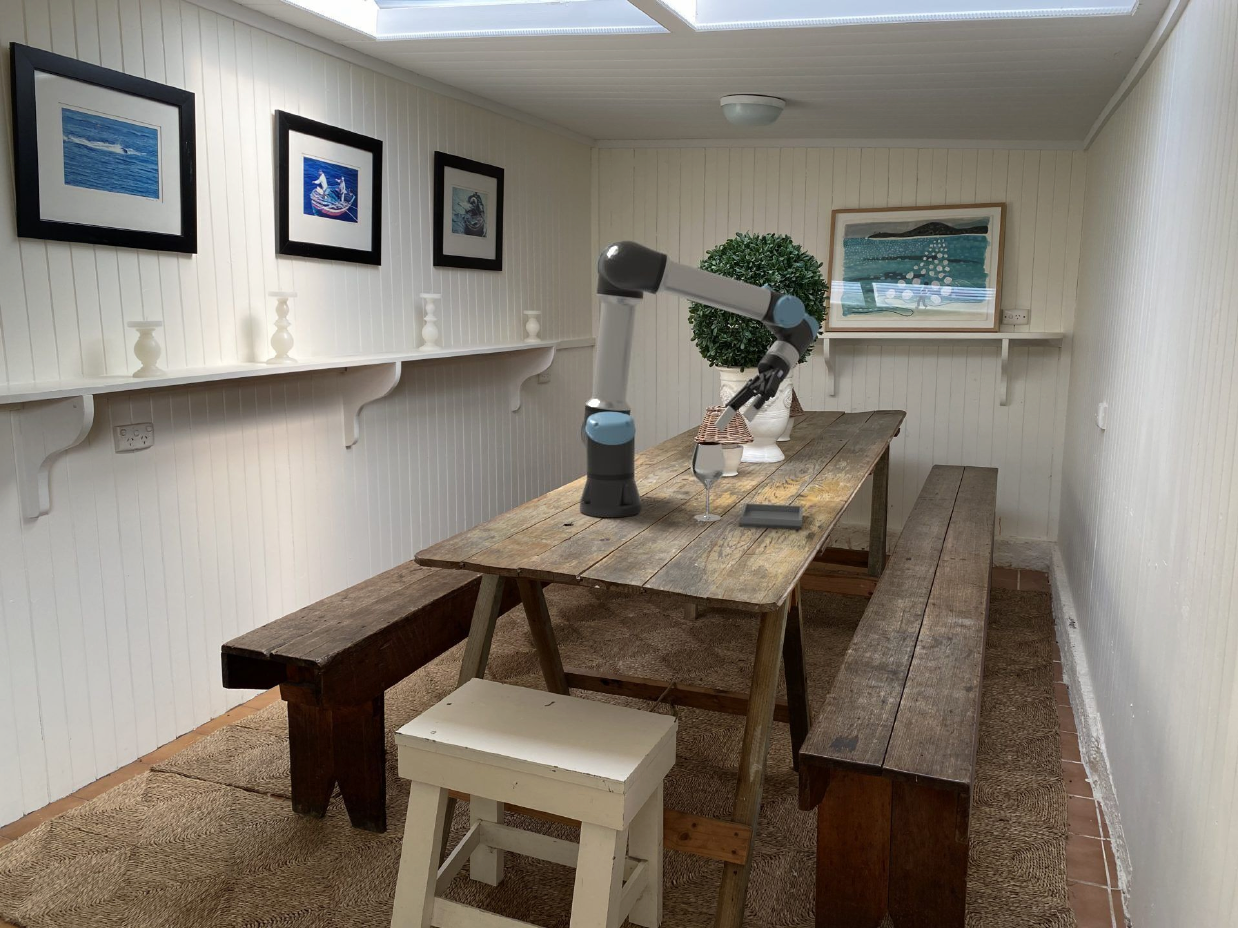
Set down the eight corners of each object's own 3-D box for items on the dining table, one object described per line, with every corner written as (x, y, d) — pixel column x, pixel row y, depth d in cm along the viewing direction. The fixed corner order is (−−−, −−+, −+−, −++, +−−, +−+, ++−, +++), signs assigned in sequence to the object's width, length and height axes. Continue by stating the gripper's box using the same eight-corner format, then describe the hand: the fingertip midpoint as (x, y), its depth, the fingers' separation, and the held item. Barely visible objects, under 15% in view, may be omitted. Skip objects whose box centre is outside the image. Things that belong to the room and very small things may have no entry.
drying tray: (739, 526, 218) (739, 517, 217) (743, 512, 231) (744, 503, 231) (801, 529, 215) (801, 520, 215) (802, 514, 229) (802, 505, 228)
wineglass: (722, 523, 220) (724, 447, 217) (687, 521, 222) (688, 445, 219) (726, 515, 228) (727, 441, 225) (692, 513, 230) (693, 439, 226)
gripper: (816, 362, 229) (770, 424, 222) (761, 384, 252) (717, 441, 244) (795, 340, 228) (748, 402, 220) (741, 364, 250) (697, 421, 243)
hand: (732, 423), depth 232 cm, fingers open, 13 cm apart
